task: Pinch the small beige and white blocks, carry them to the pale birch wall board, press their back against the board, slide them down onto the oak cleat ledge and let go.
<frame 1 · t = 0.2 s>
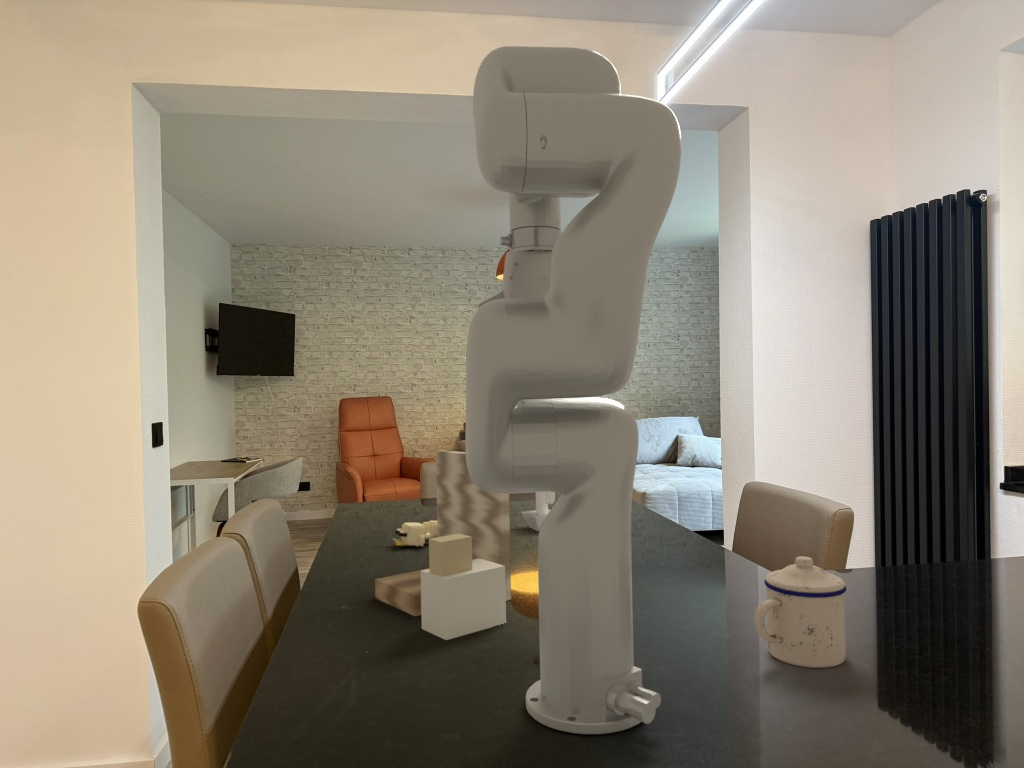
hand: (537, 360, 106), 37 cm above the table, tool pointing down, fingers open, 9 cm apart
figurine: (542, 529, 165), on the table
beige and white blocks: (464, 626, 99), on the table
cat figure: (452, 543, 153), on the table
wall board: (428, 598, 112), on the table
teacup with lid: (796, 658, 85), on the table
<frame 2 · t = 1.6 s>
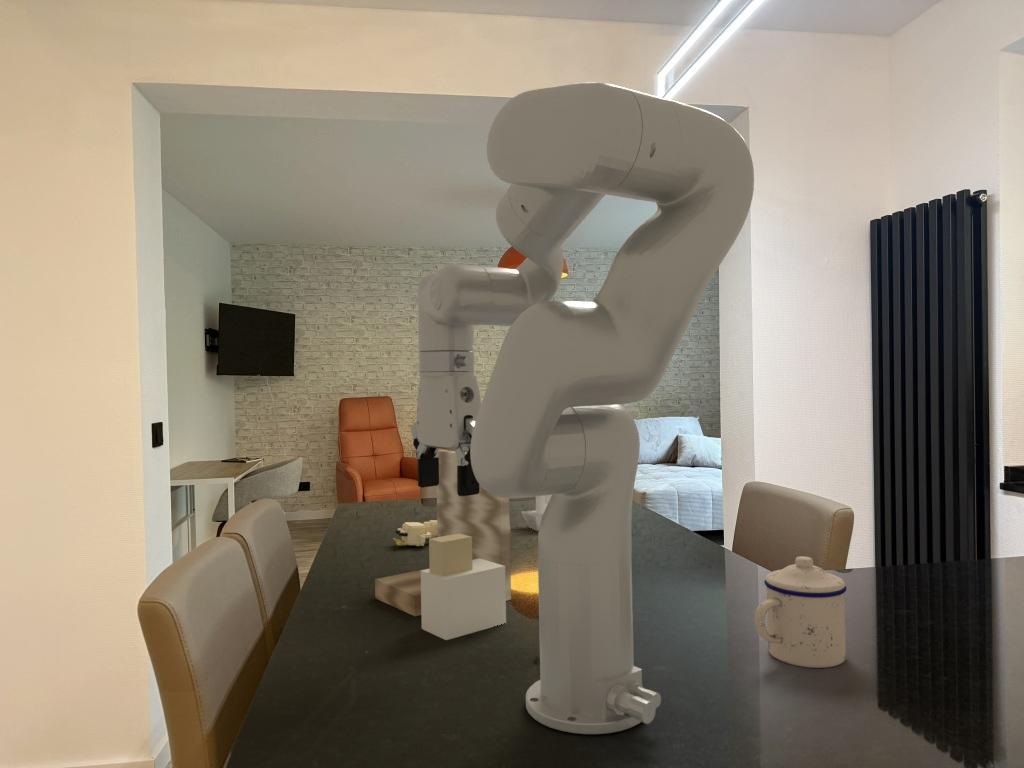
hand: (447, 490, 98), 19 cm above the table, tool pointing down, fingers open, 9 cm apart
nothing on the table moved.
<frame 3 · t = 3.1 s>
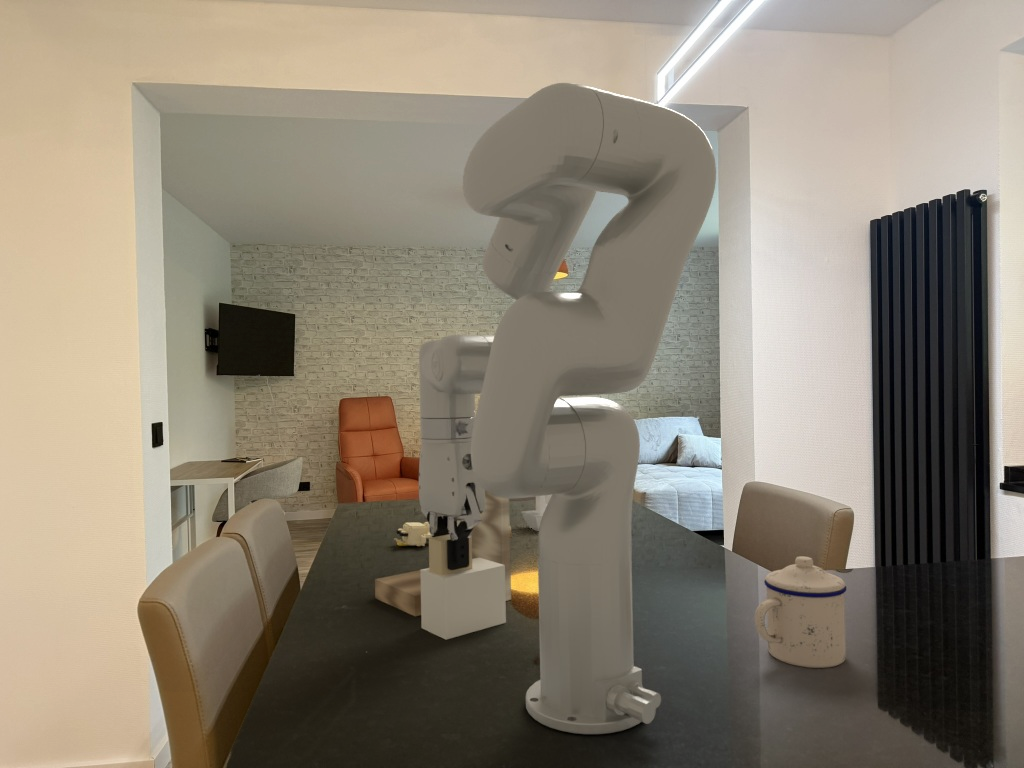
hand: (450, 564, 98), 9 cm above the table, tool pointing down, fingers closed on beige and white blocks, 3 cm apart
beige and white blocks: (464, 625, 99), on the table, touching gripper
everything else where it was.
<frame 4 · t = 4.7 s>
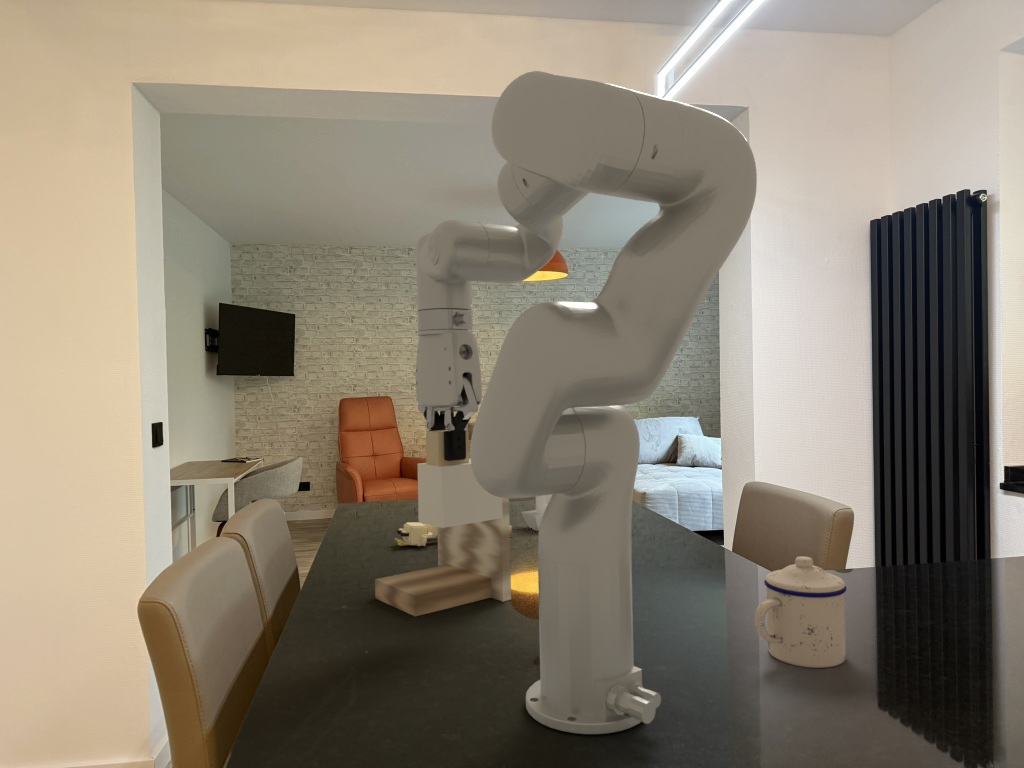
hand: (447, 457, 98), 23 cm above the table, tool pointing down, fingers closed on beige and white blocks, 3 cm apart
beige and white blocks: (460, 519, 100), point 14 cm above the table, touching gripper
everything else where it was.
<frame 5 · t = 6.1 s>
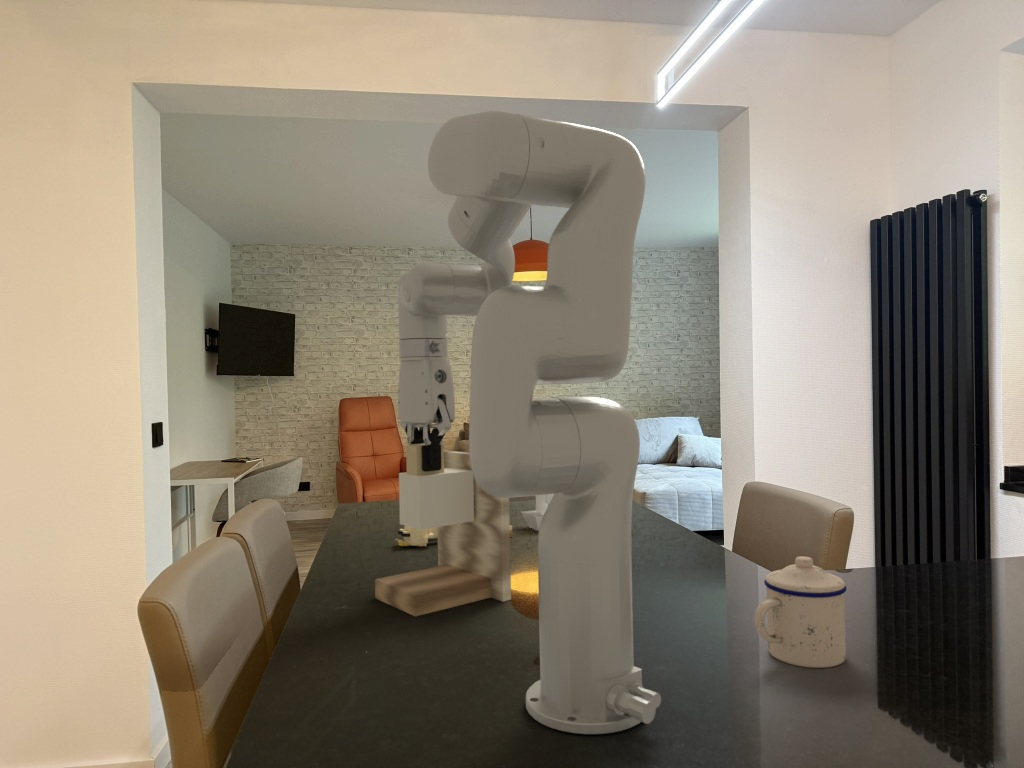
hand: (425, 468, 112), 20 cm above the table, tool pointing down, fingers closed on beige and white blocks, 3 cm apart
beige and white blocks: (437, 522, 113), point 12 cm above the table, touching gripper
everything else where it was.
when the fingers open (13 cm above the table, at t = 8.2 s): beige and white blocks stays where it is, resting on wall board.
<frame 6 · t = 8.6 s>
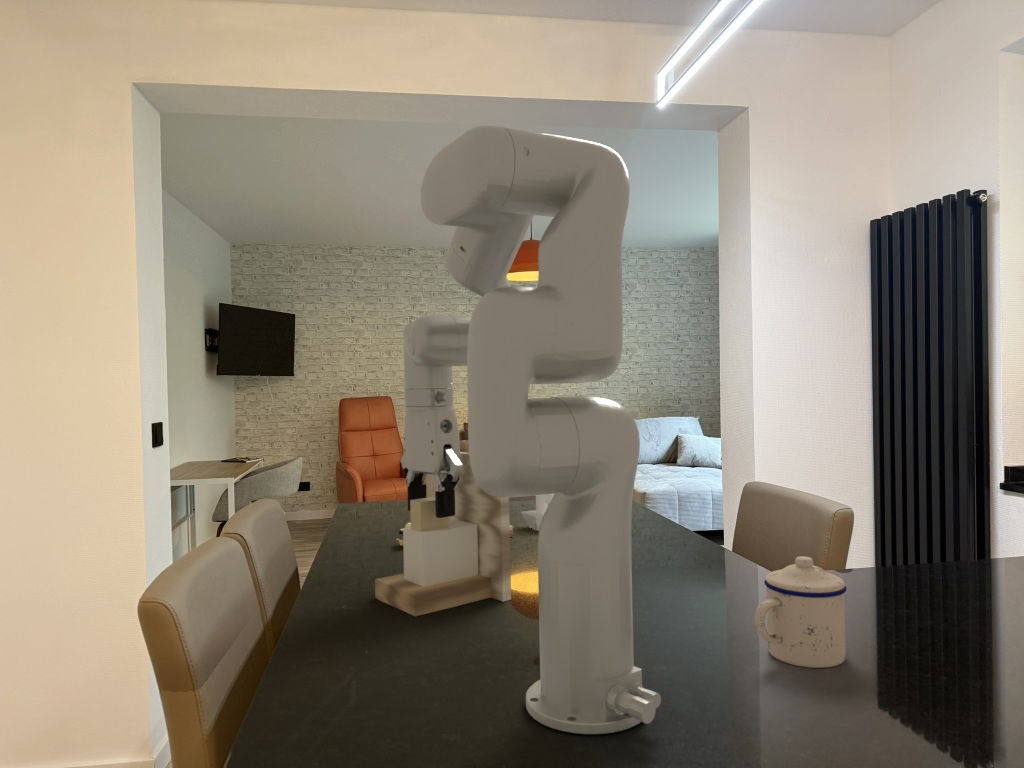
hand: (431, 512, 112), 13 cm above the table, tool pointing down, fingers open, 7 cm apart
beige and white blocks: (441, 577, 113), point 3 cm above the table, touching wall board
everything else where it was.
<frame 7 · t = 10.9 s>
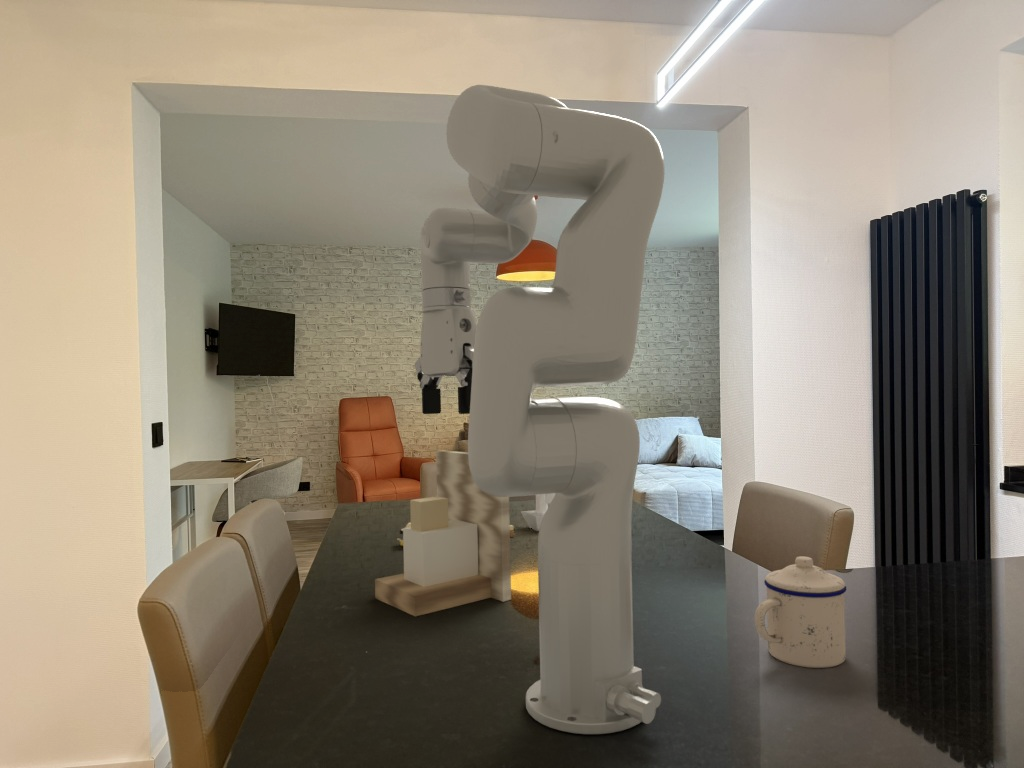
hand: (449, 413, 111), 29 cm above the table, tool pointing down, fingers open, 9 cm apart
nothing on the table moved.
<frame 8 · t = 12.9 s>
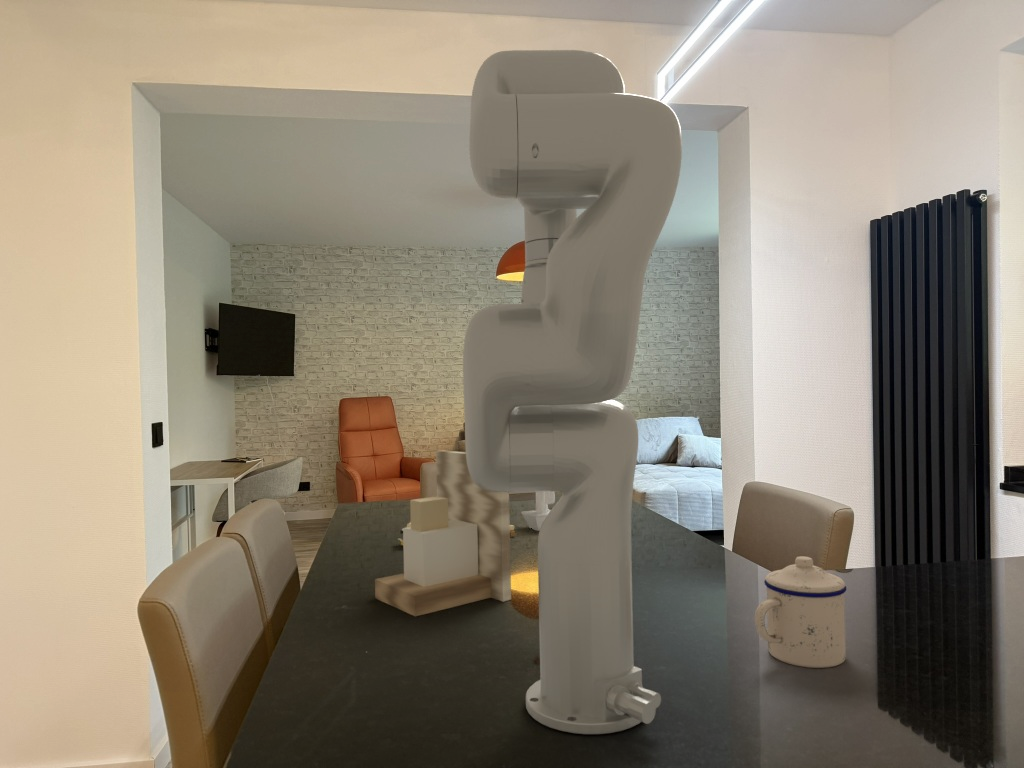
hand: (553, 375, 103), 34 cm above the table, tool pointing down, fingers open, 9 cm apart
at the end: beige and white blocks inside the target area on the wall board (0.2 cm from its centre), point 3.0 cm above the wall board's base; beige and white blocks tilted 0°; the gripper is holding nothing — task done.
